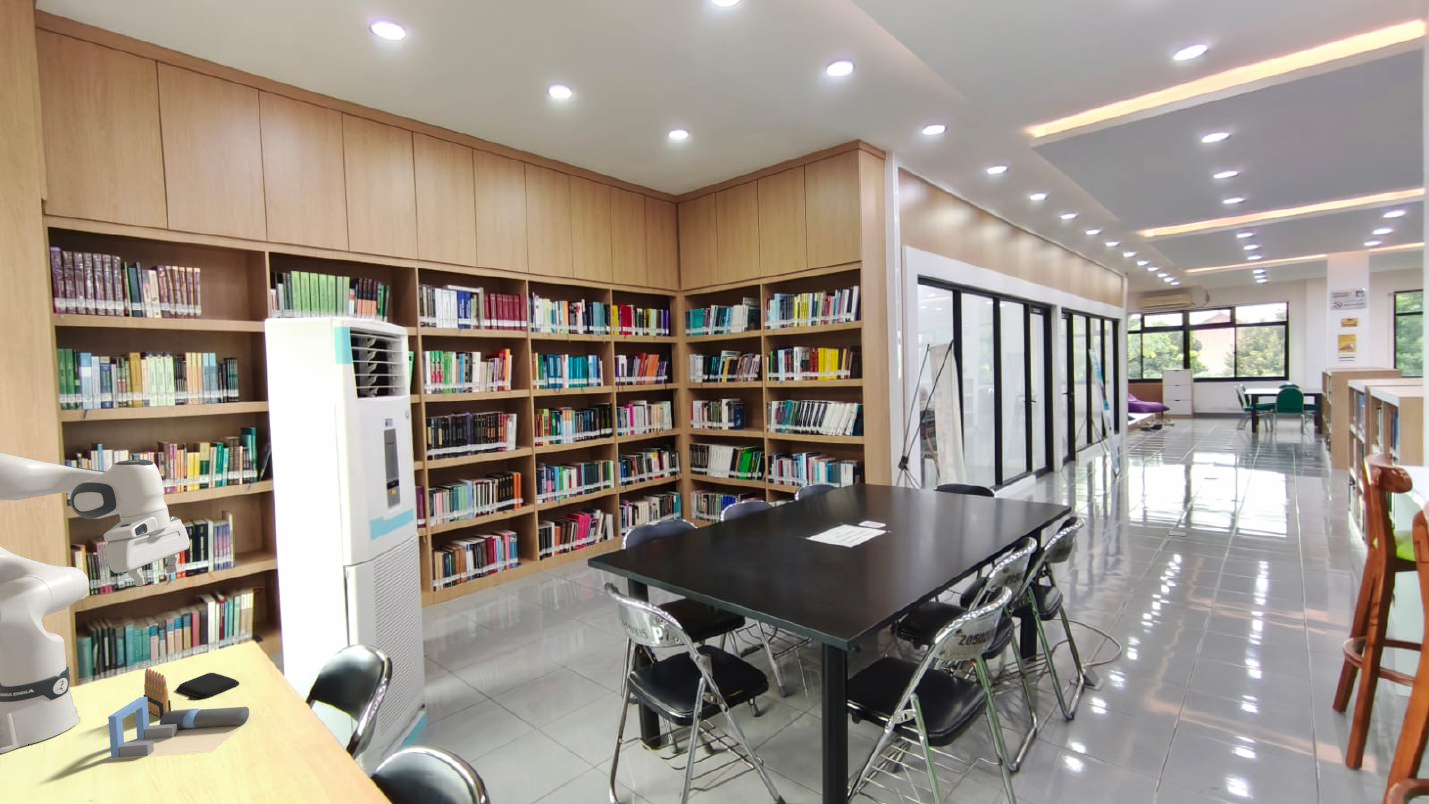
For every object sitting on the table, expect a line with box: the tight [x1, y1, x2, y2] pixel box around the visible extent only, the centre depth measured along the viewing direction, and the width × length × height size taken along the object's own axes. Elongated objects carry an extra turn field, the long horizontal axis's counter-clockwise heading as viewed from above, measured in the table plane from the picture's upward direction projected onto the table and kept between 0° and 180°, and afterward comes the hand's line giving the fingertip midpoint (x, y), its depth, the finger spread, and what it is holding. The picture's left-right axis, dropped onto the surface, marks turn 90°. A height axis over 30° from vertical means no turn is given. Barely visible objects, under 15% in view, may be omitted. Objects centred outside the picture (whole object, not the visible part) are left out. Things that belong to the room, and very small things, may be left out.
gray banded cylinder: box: [159, 706, 250, 729], centre depth 154 cm, size 18×4×4 cm, turn 94°
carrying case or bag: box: [175, 672, 240, 701], centre depth 173 cm, size 11×3×15 cm
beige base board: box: [108, 708, 259, 760], centre depth 150 cm, size 22×17×4 cm
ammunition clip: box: [143, 667, 172, 719], centre depth 161 cm, size 11×2×12 cm, turn 61°
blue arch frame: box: [107, 696, 150, 758], centre depth 146 cm, size 2×9×10 cm, turn 4°
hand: (157, 578), depth 155 cm, fingers open, 8 cm apart
